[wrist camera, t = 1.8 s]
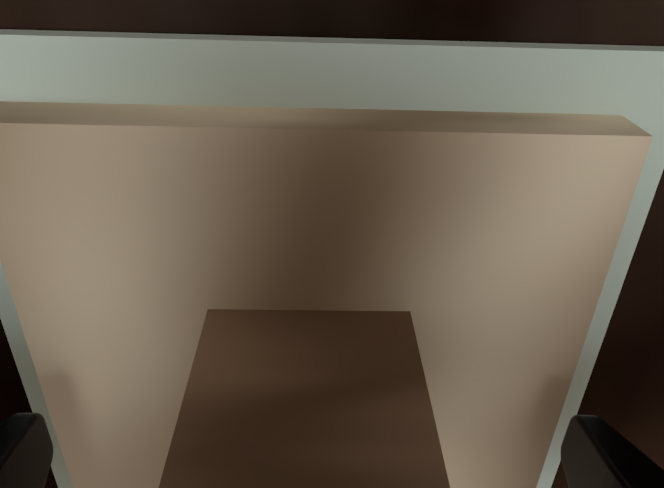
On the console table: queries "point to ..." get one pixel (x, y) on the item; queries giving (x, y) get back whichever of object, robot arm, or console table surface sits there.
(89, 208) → the lid
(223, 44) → the mat
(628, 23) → the console table surface
